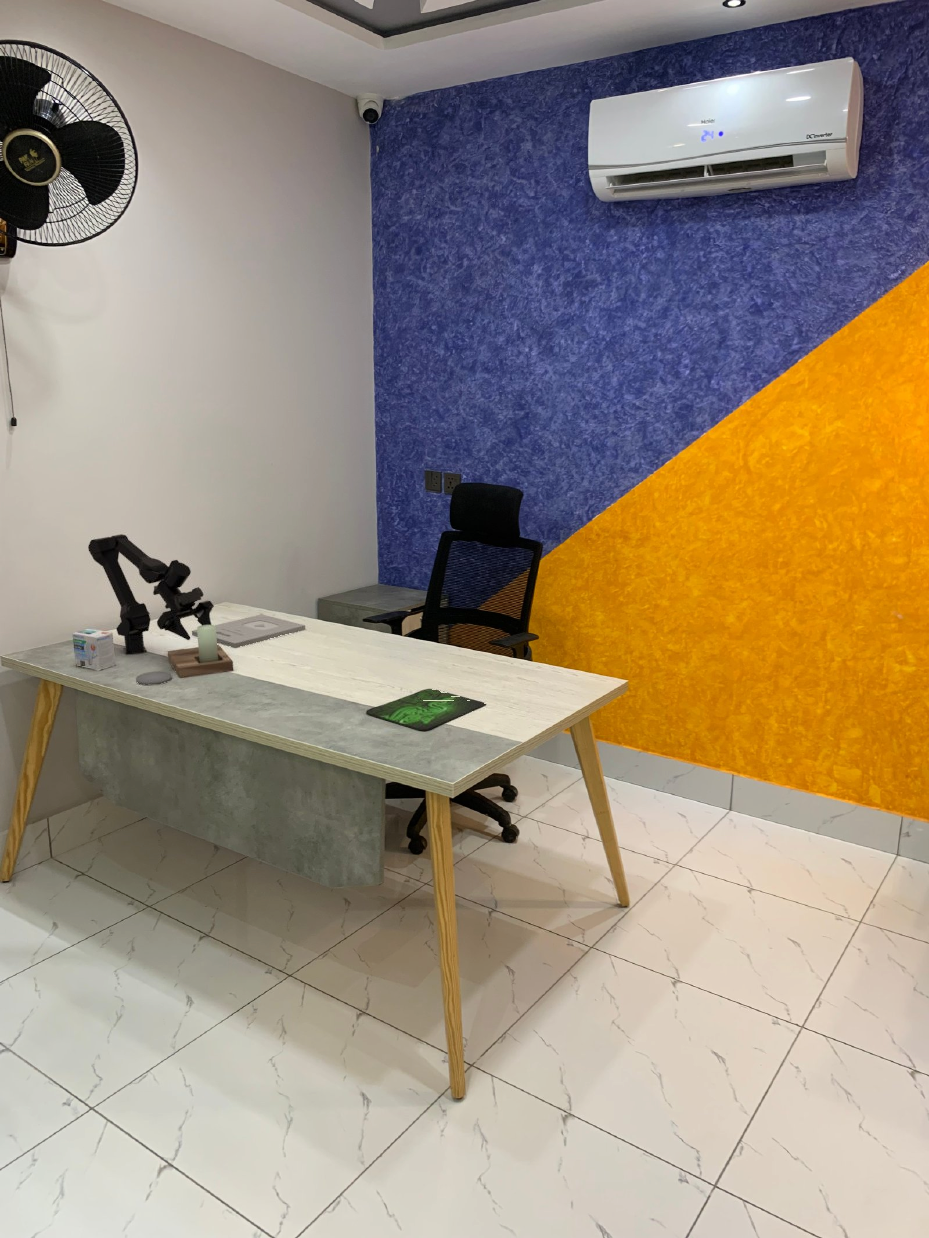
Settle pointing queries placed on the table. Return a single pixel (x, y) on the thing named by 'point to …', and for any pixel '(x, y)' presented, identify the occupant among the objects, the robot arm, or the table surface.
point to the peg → (207, 643)
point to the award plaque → (253, 630)
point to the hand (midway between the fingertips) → (201, 635)
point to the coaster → (154, 678)
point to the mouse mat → (425, 709)
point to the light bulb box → (94, 648)
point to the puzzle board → (198, 662)
